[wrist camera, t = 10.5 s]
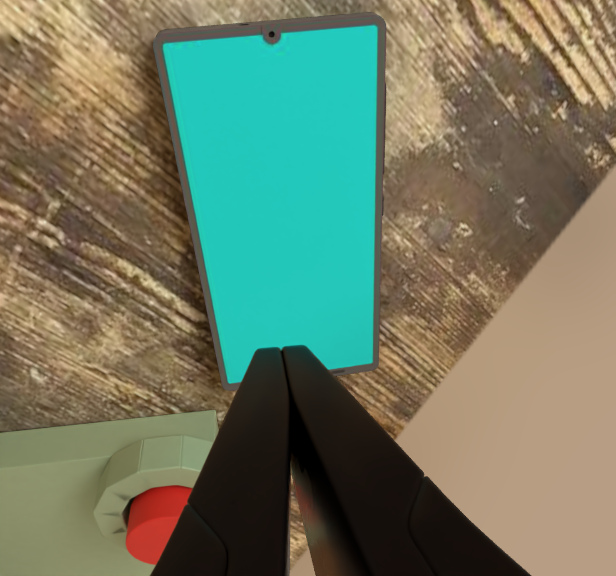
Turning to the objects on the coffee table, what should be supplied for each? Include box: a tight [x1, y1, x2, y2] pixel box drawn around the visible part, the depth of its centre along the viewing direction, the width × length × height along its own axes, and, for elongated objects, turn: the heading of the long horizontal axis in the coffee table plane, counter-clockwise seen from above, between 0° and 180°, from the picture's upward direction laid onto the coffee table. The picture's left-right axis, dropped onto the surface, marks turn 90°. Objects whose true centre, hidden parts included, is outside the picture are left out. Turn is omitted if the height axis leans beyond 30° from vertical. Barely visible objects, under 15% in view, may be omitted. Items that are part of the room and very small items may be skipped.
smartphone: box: [153, 12, 386, 391], centre depth 21 cm, size 7×1×15 cm
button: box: [125, 485, 193, 565], centre depth 24 cm, size 4×4×2 cm
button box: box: [0, 410, 219, 576], centre depth 27 cm, size 15×12×4 cm
